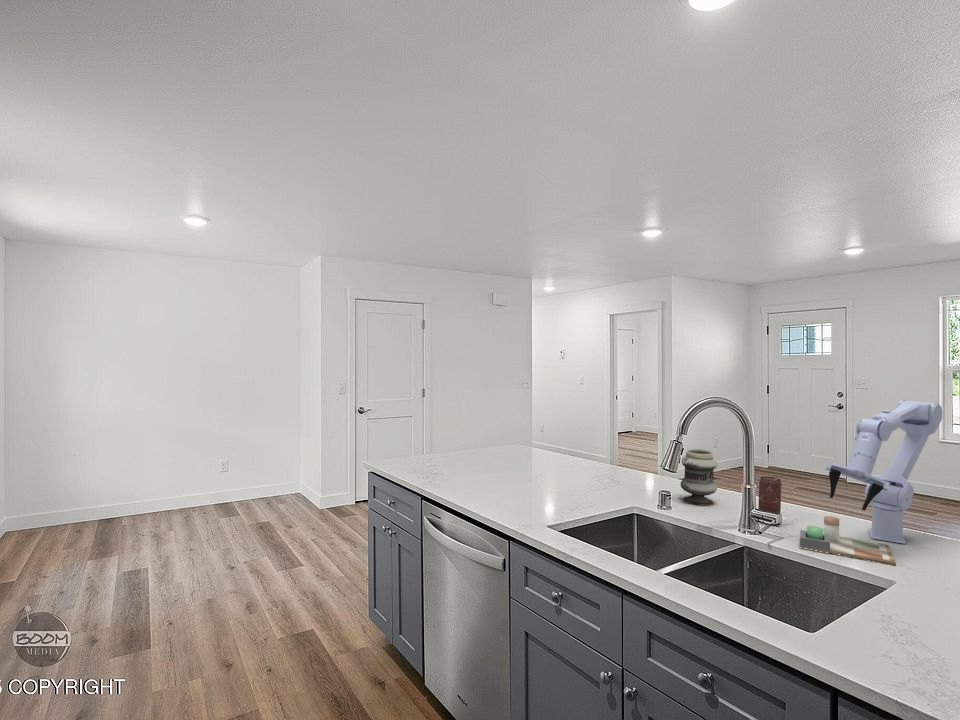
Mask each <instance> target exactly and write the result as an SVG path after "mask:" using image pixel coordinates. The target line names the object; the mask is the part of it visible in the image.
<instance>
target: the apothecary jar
mask: <svg viewBox="0 0 960 720" xmlns="http://www.w3.org/2000/svg"><path fill="white" fill-rule="evenodd" d="M681 464H682V465H683V466H684V475H683V476H684V477H683V478H682V480H681V481H680V488H681V489H682V490H683V491H684V492H686V493H688V494H690V495H688V496H684V497H683V498H682V500H683V501H684V502H685V503H688V504H690V505H698V506H707V507H708V506H712V505H713V504H714V501H712V500H711V499H710V498H709V497H706V496H710V495H712V494H714V493H716V491H717V490H718V485H717V484H716V482H715V480H714V470H715V469H717V467H718V461H717V459H715V458H714V456H713V452H712V451H710V450H706V449H699V448H698V449H697V448H696V449H695V448H694V449H687V450H686V452H685V455H684V456H683V457H682V459H681Z"/></svg>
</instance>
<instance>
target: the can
mask: <svg viewBox="0 0 960 720" xmlns="http://www.w3.org/2000/svg"><path fill="white" fill-rule="evenodd" d="M781 501H782V480H781V478H779V477H774V476H761V477H759V481H758V505H757V506H758V509H757V510H760V511H765V512H771V513H775V514H780V515H781V510H782V509H781V508H782V507H781V506H782V505H781V504H782V502H781Z"/></svg>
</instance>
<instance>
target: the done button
mask: <svg viewBox="0 0 960 720" xmlns="http://www.w3.org/2000/svg"><path fill="white" fill-rule="evenodd" d="M806 531H807V537H808V538H814V539H819V540H823V534H824V528H822V527H819V526H815V525H814V526H813V525H808V526H807V527H806Z"/></svg>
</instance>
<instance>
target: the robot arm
mask: <svg viewBox="0 0 960 720" xmlns="http://www.w3.org/2000/svg"><path fill="white" fill-rule="evenodd" d="M942 420H943V409H942V405H941V404H940V403H939V402H935V401H933V402H930V401H929V402H928V401H917V400H906V399H902V400H899V401H897V403H896V408H894V409H893V410H890V409H883V410H882V411H881V412H880V413H878V414H875V415H873V416H872V417H871V418H863V419H860V420H859V421H858V422H857V423H856V426H855V431H856V432H855V436H854V441H855V443H854V445H853V449H852V451H851V454H850V457H849V460H848V463H847V466H846V465H842V464H838V463H834V462H831V461H828V462H827V465H826V467H825V470H826V471H829V472H828V477H829V478H828V479H829V484H830V494H829V498H830V499H833V498H834V496H835V493H836V490H837V489H836V488H837V485H838V483H839V479H840V477H841V475H843V476H845V477H849V478H851V479H854V480H856V481H859V482H861V483H865V484H867V485H866V486H865V488H864V489H865V491H864V494H865V501H864V503H863V505H862V507H861V510H862V511H863V512H865V511H866V510H867V508H868V506H869V505H870V506H872V510H871V511H872V512H871V528H870V527H869V528H868V532H869V536H870V538H871V539H873V540H879V541H885V542H891V543H897V544H904V545H905V544H906V540H905V538H904V536H903V532H904V531H903V530H904V526H903V525H904V511H906V510H908V509H909V508H910V507H911V505H912V502H913V497H914V494H915V491H914V487H913V486H912V484H911V483H910V482H909V481H908V479H909V477H910V476H911V473H912V471H913V469H914V467H915V464H916V463H917V461H918V459H919V457H920V455H921V453H922V451H923V449H924V447H925V444H926V443H927V441H928V439H929V437H930V435H933V434H936V432H937V429H939V426H940V424H941V422H942ZM898 429H900V430H902V431H903V432H904V433H905V435H904V438H903V439H902V442H901V444H900V446H899V447H898V449H897V451H896V453H895V455H894V457H893V459H892V461H891V463H890V465H889V467H888V468H887V470H886V472H884V473H880V474H878V475H872V472H873V470H874V467H875V464H876V461H877V458H878V455H879V453H880V449H881V446H882V444H883V442H886V441H889V438H890V437H891V434H892V433H893V432H894V431H896V430H898Z"/></svg>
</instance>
